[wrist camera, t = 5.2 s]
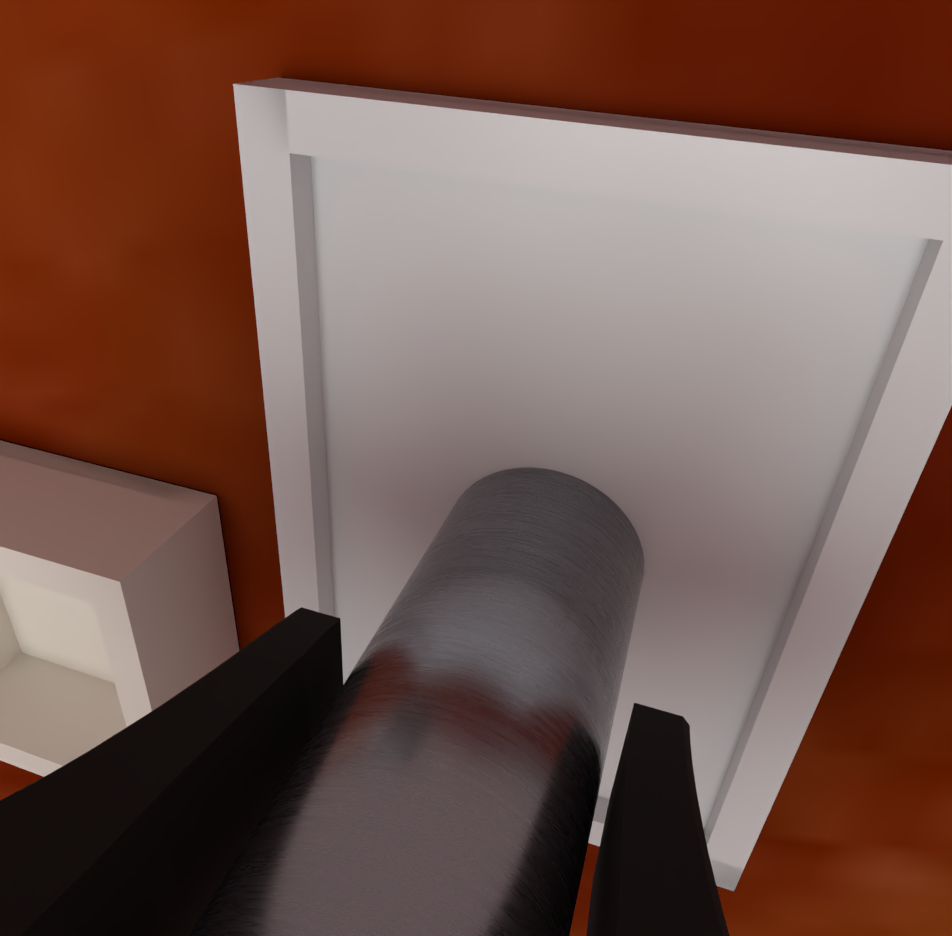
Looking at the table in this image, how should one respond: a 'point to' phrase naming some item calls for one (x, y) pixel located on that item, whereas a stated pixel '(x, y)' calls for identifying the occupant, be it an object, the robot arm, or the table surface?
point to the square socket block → (101, 602)
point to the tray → (605, 376)
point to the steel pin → (459, 735)
